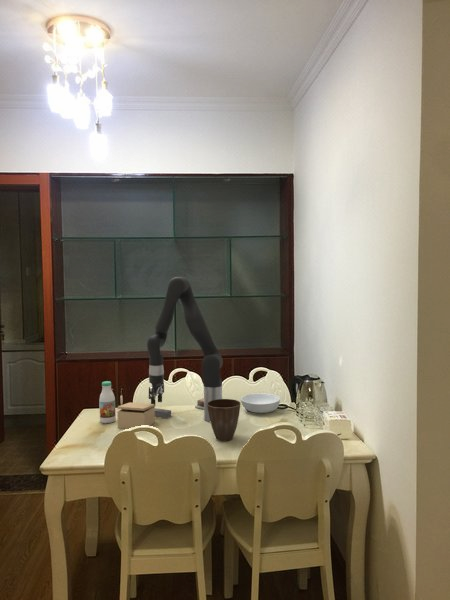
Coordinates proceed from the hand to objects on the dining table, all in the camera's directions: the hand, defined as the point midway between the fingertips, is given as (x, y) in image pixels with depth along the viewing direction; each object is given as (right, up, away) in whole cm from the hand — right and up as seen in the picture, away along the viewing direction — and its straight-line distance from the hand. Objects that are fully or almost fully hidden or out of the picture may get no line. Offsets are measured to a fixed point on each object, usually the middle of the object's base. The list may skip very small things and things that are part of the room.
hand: (156, 404), depth 251 cm
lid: (-8, +2, -14) cm, 16 cm away
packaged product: (+29, -6, +12) cm, 32 cm away
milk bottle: (-24, -7, -7) cm, 26 cm away
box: (-8, -7, -14) cm, 17 cm away
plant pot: (+35, -8, -35) cm, 50 cm away
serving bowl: (+54, -5, +7) cm, 55 cm away
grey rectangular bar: (+1, -6, 0) cm, 6 cm away
